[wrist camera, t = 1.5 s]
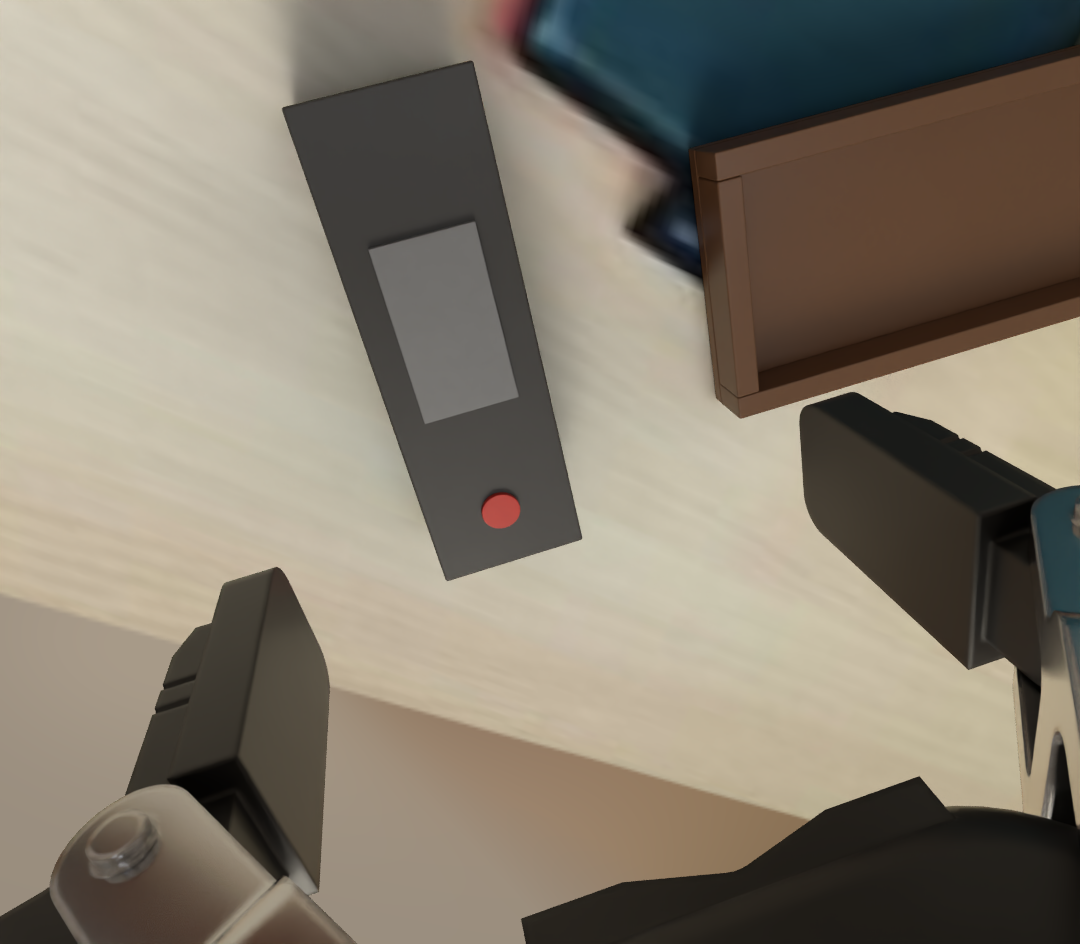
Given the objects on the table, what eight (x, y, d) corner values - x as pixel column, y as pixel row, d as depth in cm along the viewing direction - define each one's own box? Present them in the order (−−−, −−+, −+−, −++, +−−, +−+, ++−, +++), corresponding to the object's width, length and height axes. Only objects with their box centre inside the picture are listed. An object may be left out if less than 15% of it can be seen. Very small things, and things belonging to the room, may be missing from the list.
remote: (293, 105, 20) (280, 108, 17) (455, 65, 21) (473, 59, 18) (436, 525, 27) (446, 584, 24) (557, 488, 28) (584, 542, 24)
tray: (687, 148, 23) (714, 152, 21) (1216, 7, 25) (1281, 1, 23) (715, 398, 27) (739, 419, 26) (1167, 264, 29) (1218, 275, 27)
